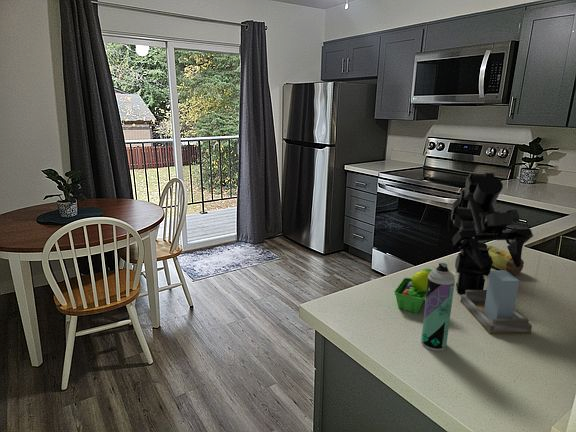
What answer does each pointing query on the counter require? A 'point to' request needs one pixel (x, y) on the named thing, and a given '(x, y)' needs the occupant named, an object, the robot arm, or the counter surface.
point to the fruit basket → (412, 291)
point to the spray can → (437, 308)
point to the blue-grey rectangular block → (501, 295)
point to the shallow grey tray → (475, 306)
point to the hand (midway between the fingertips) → (500, 267)
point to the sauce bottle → (504, 260)
